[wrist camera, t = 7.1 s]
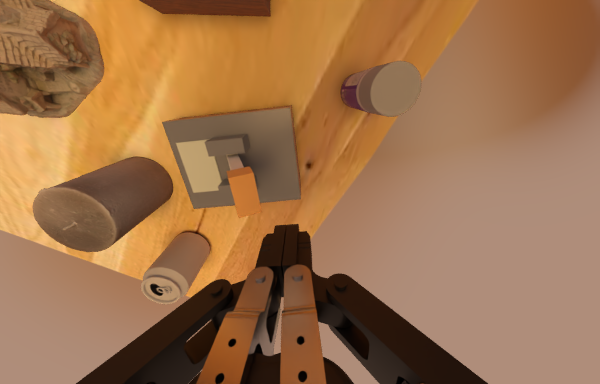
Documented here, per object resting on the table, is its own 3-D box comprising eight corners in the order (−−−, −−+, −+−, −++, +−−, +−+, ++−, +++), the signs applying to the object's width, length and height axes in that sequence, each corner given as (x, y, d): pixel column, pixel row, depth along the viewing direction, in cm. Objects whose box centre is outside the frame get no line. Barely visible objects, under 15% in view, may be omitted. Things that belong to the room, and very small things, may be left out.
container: (367, 109, 33) (412, 121, 20) (337, 105, 33) (363, 115, 20) (375, 75, 31) (431, 63, 18) (343, 71, 31) (376, 55, 18)
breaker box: (180, 118, 34) (147, 125, 27) (291, 105, 33) (288, 109, 26) (206, 195, 40) (185, 218, 33) (300, 186, 39) (300, 208, 32)
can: (169, 232, 44) (126, 278, 33) (204, 227, 43) (171, 272, 32) (184, 259, 47) (149, 310, 36) (216, 255, 46) (190, 305, 35)
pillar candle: (149, 212, 42) (77, 270, 28) (106, 173, 38) (0, 218, 25) (185, 188, 39) (126, 238, 26) (142, 144, 36) (48, 176, 22)
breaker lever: (222, 151, 30) (228, 178, 20) (239, 148, 31) (253, 172, 20) (229, 179, 32) (238, 218, 22) (245, 176, 33) (261, 211, 22)
